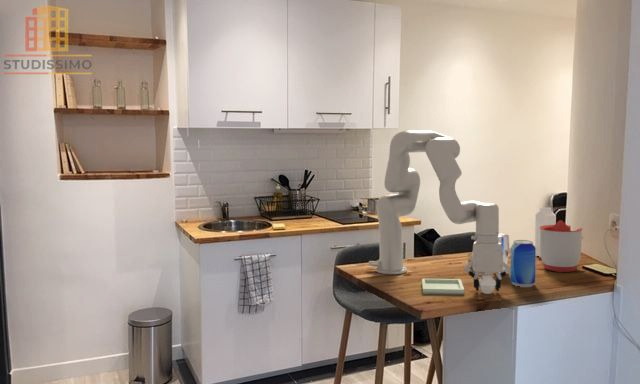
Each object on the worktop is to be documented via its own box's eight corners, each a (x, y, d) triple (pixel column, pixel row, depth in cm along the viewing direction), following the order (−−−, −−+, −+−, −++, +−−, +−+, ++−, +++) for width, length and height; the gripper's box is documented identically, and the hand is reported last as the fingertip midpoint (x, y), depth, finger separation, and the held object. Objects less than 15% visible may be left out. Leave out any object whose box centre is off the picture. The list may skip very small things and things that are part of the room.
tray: (422, 293, 187) (422, 288, 187) (422, 283, 201) (422, 278, 201) (464, 294, 185) (464, 289, 185) (460, 283, 199) (460, 279, 198)
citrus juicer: (594, 271, 211) (595, 221, 209) (557, 275, 206) (558, 224, 204) (565, 263, 226) (566, 216, 224) (530, 266, 221) (531, 218, 219)
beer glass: (510, 274, 209) (510, 237, 208) (492, 274, 211) (492, 236, 209) (508, 270, 216) (508, 233, 215) (490, 270, 217) (490, 233, 216)
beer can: (529, 281, 199) (529, 239, 198) (539, 287, 191) (539, 243, 189) (506, 282, 199) (507, 239, 197) (515, 288, 191) (516, 244, 189)
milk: (555, 257, 237) (556, 208, 235) (543, 258, 235) (544, 208, 233) (546, 254, 243) (546, 206, 240) (534, 255, 241) (535, 207, 239)
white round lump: (496, 295, 183) (496, 275, 182) (478, 294, 184) (478, 274, 184) (495, 290, 189) (495, 271, 188) (477, 289, 190) (477, 270, 190)
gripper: (462, 240, 182) (462, 292, 184) (515, 241, 179) (515, 293, 181) (460, 236, 190) (460, 286, 191) (511, 237, 187) (511, 287, 189)
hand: (487, 289), depth 186 cm, fingers closed on white round lump, 6 cm apart
